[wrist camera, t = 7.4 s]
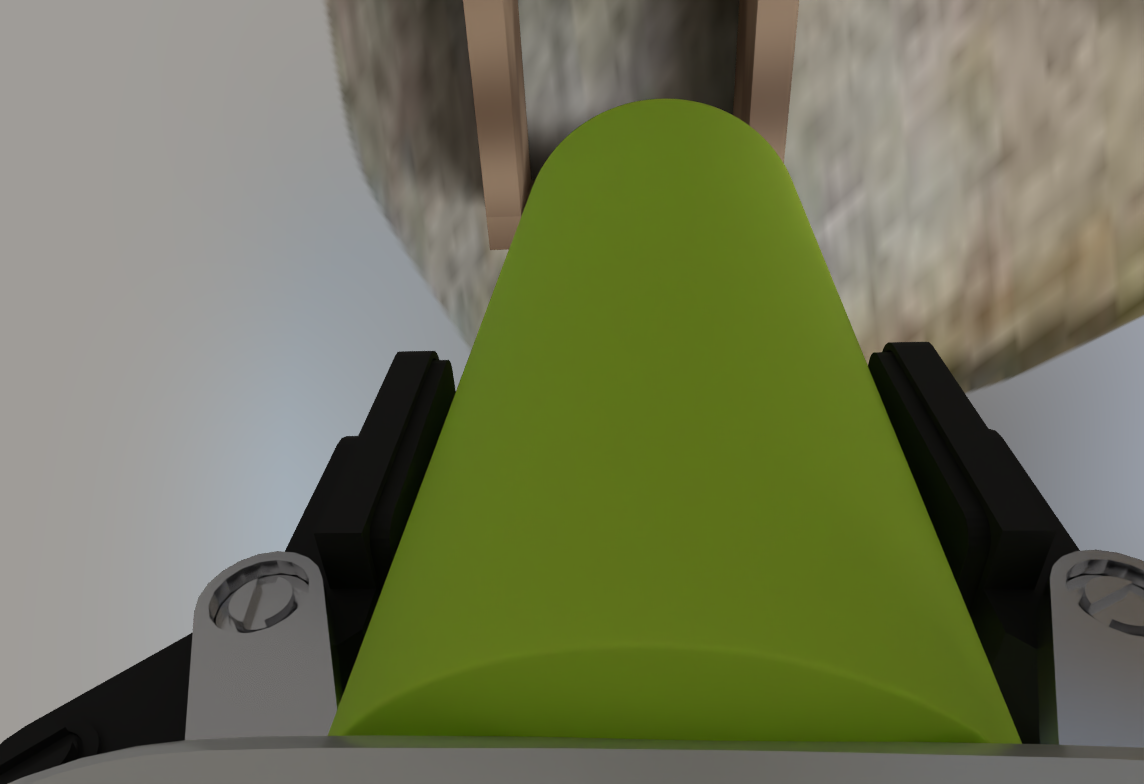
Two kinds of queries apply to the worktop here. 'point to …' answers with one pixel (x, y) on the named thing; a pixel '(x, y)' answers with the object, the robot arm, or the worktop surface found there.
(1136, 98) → the worktop surface
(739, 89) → the walnut stand
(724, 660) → the soap dispenser
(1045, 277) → the worktop surface
